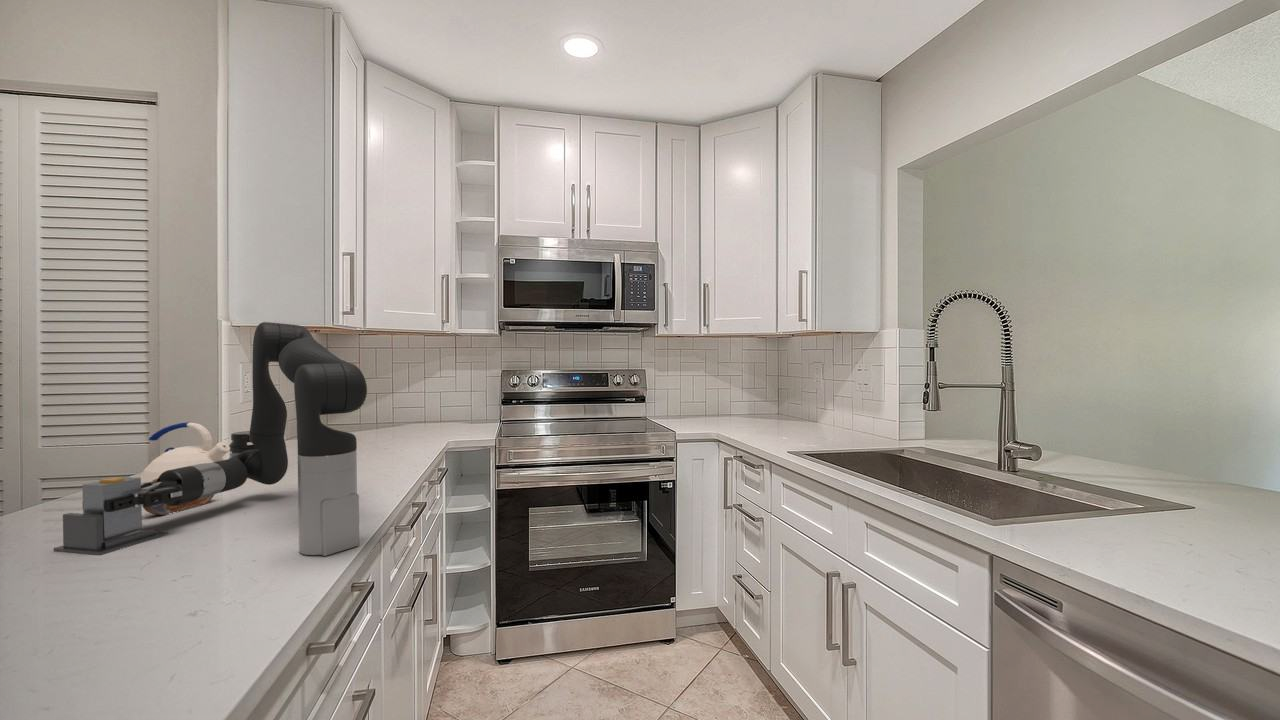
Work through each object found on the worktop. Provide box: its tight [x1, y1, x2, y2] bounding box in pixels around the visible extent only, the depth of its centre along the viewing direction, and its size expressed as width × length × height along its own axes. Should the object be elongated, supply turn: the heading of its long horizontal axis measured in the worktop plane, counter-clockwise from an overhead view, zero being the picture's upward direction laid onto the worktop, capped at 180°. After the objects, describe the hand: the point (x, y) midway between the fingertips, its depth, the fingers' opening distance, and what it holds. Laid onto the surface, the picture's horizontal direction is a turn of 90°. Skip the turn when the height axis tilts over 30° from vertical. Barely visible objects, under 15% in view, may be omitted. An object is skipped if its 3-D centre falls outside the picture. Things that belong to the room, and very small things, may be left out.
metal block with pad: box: [81, 476, 143, 540], centre depth 99 cm, size 6×5×10 cm
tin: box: [142, 478, 215, 516], centre depth 121 cm, size 15×3×8 cm, turn 168°
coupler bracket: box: [53, 512, 169, 556], centre depth 99 cm, size 11×11×6 cm
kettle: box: [139, 421, 230, 484], centre depth 139 cm, size 20×21×18 cm
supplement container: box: [229, 430, 259, 458], centre depth 162 cm, size 10×10×12 cm
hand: (95, 505), depth 97 cm, fingers closed on metal block with pad, 5 cm apart
